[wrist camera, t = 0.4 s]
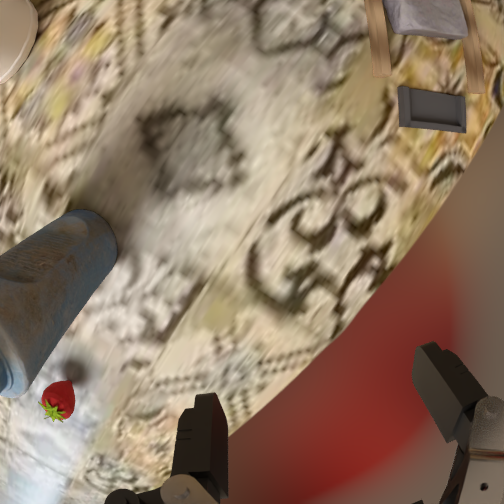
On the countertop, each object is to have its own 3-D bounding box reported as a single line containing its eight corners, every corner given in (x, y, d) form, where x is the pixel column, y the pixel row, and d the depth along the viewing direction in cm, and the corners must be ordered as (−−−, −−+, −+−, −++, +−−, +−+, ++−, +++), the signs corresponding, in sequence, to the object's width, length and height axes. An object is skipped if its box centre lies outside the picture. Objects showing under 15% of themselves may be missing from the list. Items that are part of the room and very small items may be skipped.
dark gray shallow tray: (397, 87, 32) (403, 86, 31) (458, 97, 32) (465, 96, 31) (399, 126, 34) (405, 126, 33) (459, 132, 34) (466, 133, 33)
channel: (350, -64, 24) (356, -72, 21) (450, -36, 24) (458, -41, 22) (373, 77, 32) (382, 74, 29) (474, 93, 32) (485, 93, 30)
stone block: (365, -19, 28) (393, 40, 30) (378, -38, 23) (410, 24, 25) (433, -10, 28) (460, 45, 30) (449, -25, 24) (479, 34, 25)
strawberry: (52, 385, 46) (31, 423, 37) (57, 360, 44) (33, 400, 35) (80, 400, 48) (62, 440, 38) (87, 377, 45) (67, 420, 36)
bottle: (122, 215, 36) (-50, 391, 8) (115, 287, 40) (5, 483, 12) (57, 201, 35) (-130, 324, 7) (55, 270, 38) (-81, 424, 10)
